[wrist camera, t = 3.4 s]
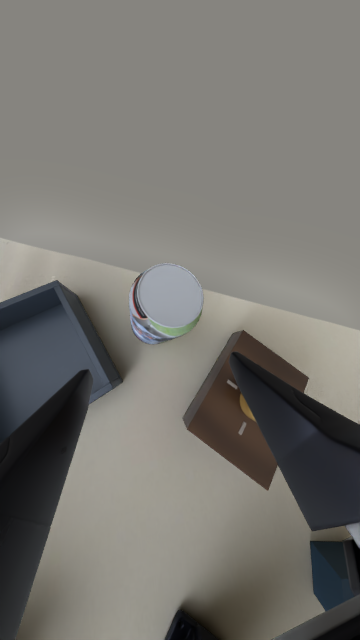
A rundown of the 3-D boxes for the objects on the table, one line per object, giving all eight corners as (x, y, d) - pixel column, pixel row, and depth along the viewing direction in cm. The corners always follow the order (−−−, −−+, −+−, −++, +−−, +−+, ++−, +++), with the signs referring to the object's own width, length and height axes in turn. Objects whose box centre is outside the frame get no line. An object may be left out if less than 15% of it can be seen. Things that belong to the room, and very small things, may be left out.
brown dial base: (251, 470, 18) (269, 492, 15) (182, 418, 19) (186, 429, 16) (290, 375, 22) (310, 377, 19) (232, 333, 23) (244, 329, 20)
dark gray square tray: (123, 381, 19) (113, 388, 15) (1, 459, 15) (-57, 497, 11) (77, 295, 21) (56, 279, 17) (-42, 347, 17) (-105, 344, 13)
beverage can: (134, 304, 22) (108, 244, 10) (182, 306, 23) (209, 254, 11) (131, 346, 20) (95, 332, 9) (183, 346, 21) (214, 334, 10)
